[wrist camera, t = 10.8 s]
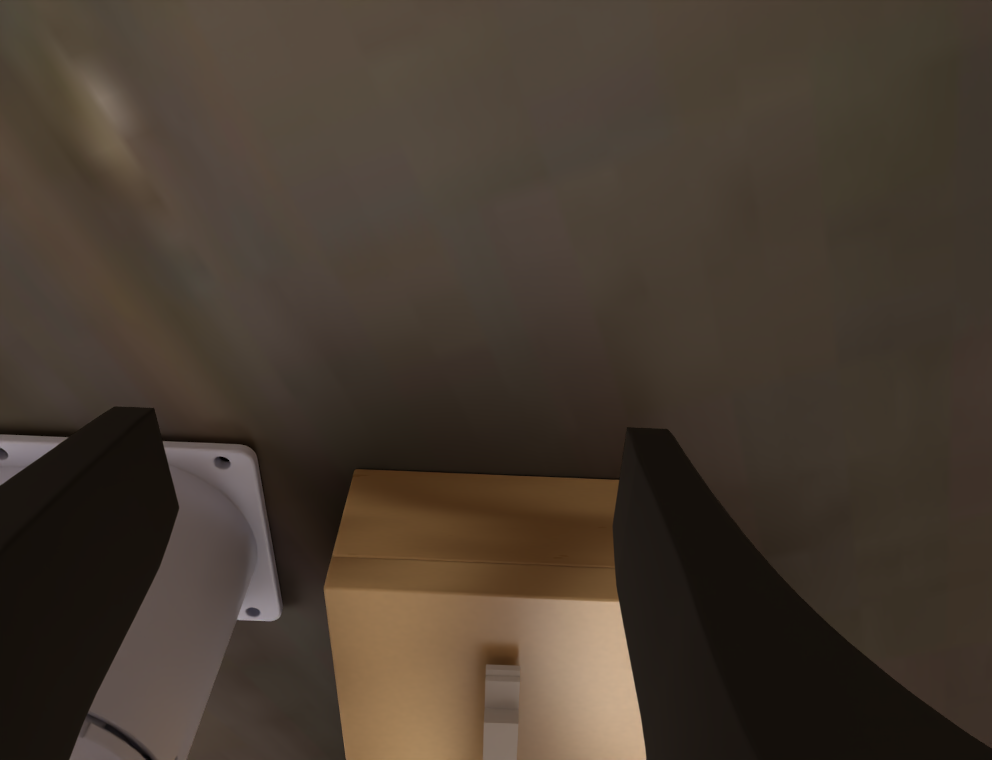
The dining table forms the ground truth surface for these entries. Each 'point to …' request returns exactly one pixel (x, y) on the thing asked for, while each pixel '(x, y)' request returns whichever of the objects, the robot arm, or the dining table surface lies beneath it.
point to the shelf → (479, 616)
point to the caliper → (501, 712)
